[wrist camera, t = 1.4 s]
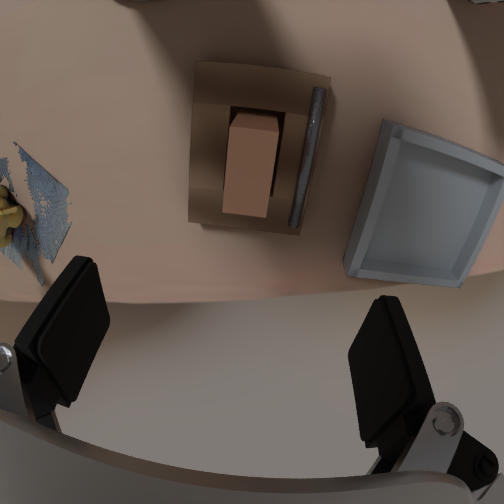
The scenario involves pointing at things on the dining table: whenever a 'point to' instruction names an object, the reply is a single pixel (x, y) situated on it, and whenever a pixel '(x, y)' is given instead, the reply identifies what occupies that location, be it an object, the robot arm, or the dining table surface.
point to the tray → (423, 209)
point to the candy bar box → (486, 1)
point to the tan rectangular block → (250, 163)
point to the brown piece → (290, 148)
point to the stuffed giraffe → (12, 215)
